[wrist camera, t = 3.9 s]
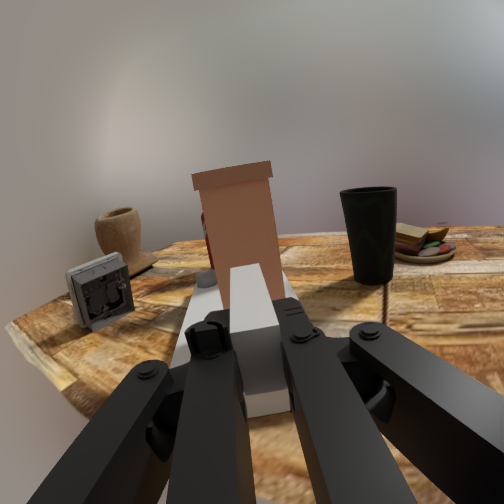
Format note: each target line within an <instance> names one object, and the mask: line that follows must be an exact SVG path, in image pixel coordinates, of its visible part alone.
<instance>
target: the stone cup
mask: <svg viewBox="0 0 504 504" xmlns="http://www.w3.org/2000/svg"><path fill="white" fill-rule="evenodd" d="M95 232H96V237H97V241H98V243H99V245H100V247H101V249H102V251H103V253H104V254H105V256H106V255H108V254H111V253H114V252H118V253H120V254H121V255H122V260H123V263H125V264H127V265H128V270H129V277H131V276H133V275H135V274H137V273H139V272H140V271H142V270H144V269H146V268H147V267H149V266H151V265H152V264H154V263H156V262H157V261H158V258H157V256H155V255H153V254H152V253H150V252H149V251H147V250H146V251H141V221H140V217H139V214H138V212H137V210H136V209H135V208H133V207H123V208H117V209H114V210H111V211H108V212H107V213H105V214H104V215H103V216H98V217H97V219H96V221H95ZM124 280H125V279H124Z"/></svg>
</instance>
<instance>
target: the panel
mask: <svg viewBox="0 0 504 504" xmlns="http://www.w3.org/2000/svg"><path fill="white" fill-rule="evenodd" d="M282 274H283V281H284V288H285V296H286V298H288V297H293V298H295V299H297V300H298V298H297V296H296V294H295V292H294V290H293V289H292V287H291V285H290V283H289V282H288V280H287V278H286V276H285V274H284V273H283V271H282ZM195 279H196V285H195V288H194V291H193V294H192V297H191V300H190V303H189V306H188V309H187V312H186V315H185V318H184V322H183V325H182V328H181V331H180V334H179V338H178V341H177V344H176V347H175V351H174V354H173V357H172V361H171V364H170V368H174V367H177V366H180V365H183V364H186V363H187V362H189V361H190V357H191V353H190V350H189V347H188V344H187V341H186V338H185V334H184V332H185V331H186V329H187V328H188V327H190V326H191V325H193V324H195V323H197V322H200V321H204V318H205V317H206V316H207V315H208V313H209V312H211V311H217V310H224V309H223V305H222V300H221V296H220V291H219V287H218V282H217V278H216V273H215V270H204V271H201V272H198V273H196V274H195ZM298 301H299V300H298ZM302 308H303V307H302ZM304 311H305V310H304ZM309 320H310V319H309ZM170 368H169V369H170ZM244 398H245V402H246V405H247V415H248V418H252V417H258V416H264V415H270V414H276V413H281V412H286V411H290V402H289V394H288V387H287V389H284V390H279V391H273V392H268V393H262V394H255V395H249V396H245V394H244Z"/></svg>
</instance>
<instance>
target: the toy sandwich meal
mask: <svg viewBox="0 0 504 504" xmlns="http://www.w3.org/2000/svg"><path fill="white" fill-rule="evenodd" d="M448 230H449V227H446V228H444V229H441V230H438V231H429V230H428V229H424V228H420V227H415V226H410V225H406V224H403V223H396V242H395V256H396V257H397V258H399V259H402V260H405V261H409V262H415V263H434V262H440V261H444V260H446V259H448V258H450V257H451V256H452V255H453V254H454V253H455V251H456V243H455V242H448V241H445V240H443V239H444V238H445V236H446V234H447V233H448Z"/></svg>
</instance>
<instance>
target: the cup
mask: <svg viewBox="0 0 504 504" xmlns="http://www.w3.org/2000/svg"><path fill="white" fill-rule="evenodd" d="M340 197H341V202H342V207H343V212H344V217H345V223H346V228H347V234H348V239H349V245H350V252H351V258H352V265H353V272H354V279H355V280H356V281H357V282H358V283H361V284H365V285H379V284H384V283H387V282H389V281H390V280H391V279H392V278H393V268H394V256H395V242H396V217H397V189H396V188H395V187H364V188H355V189H348V190H343V191H341V192H340Z"/></svg>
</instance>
